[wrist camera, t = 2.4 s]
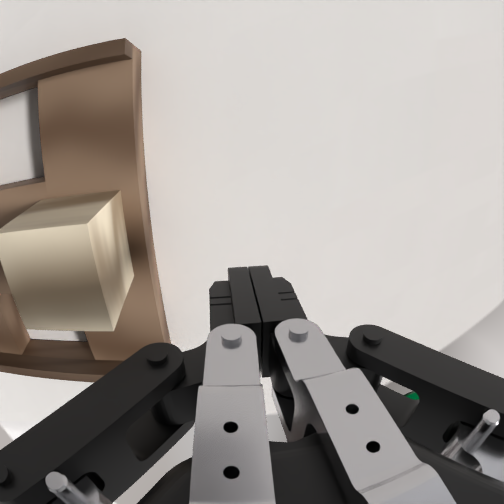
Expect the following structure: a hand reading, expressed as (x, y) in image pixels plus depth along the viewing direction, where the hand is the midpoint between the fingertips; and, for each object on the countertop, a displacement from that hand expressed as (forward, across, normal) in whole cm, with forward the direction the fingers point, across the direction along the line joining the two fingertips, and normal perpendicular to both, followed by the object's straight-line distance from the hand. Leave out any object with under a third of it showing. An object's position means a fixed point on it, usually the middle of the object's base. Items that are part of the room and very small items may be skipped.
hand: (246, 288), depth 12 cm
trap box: (+7, +14, 0) cm, 16 cm away
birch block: (+5, +8, 0) cm, 10 cm away
